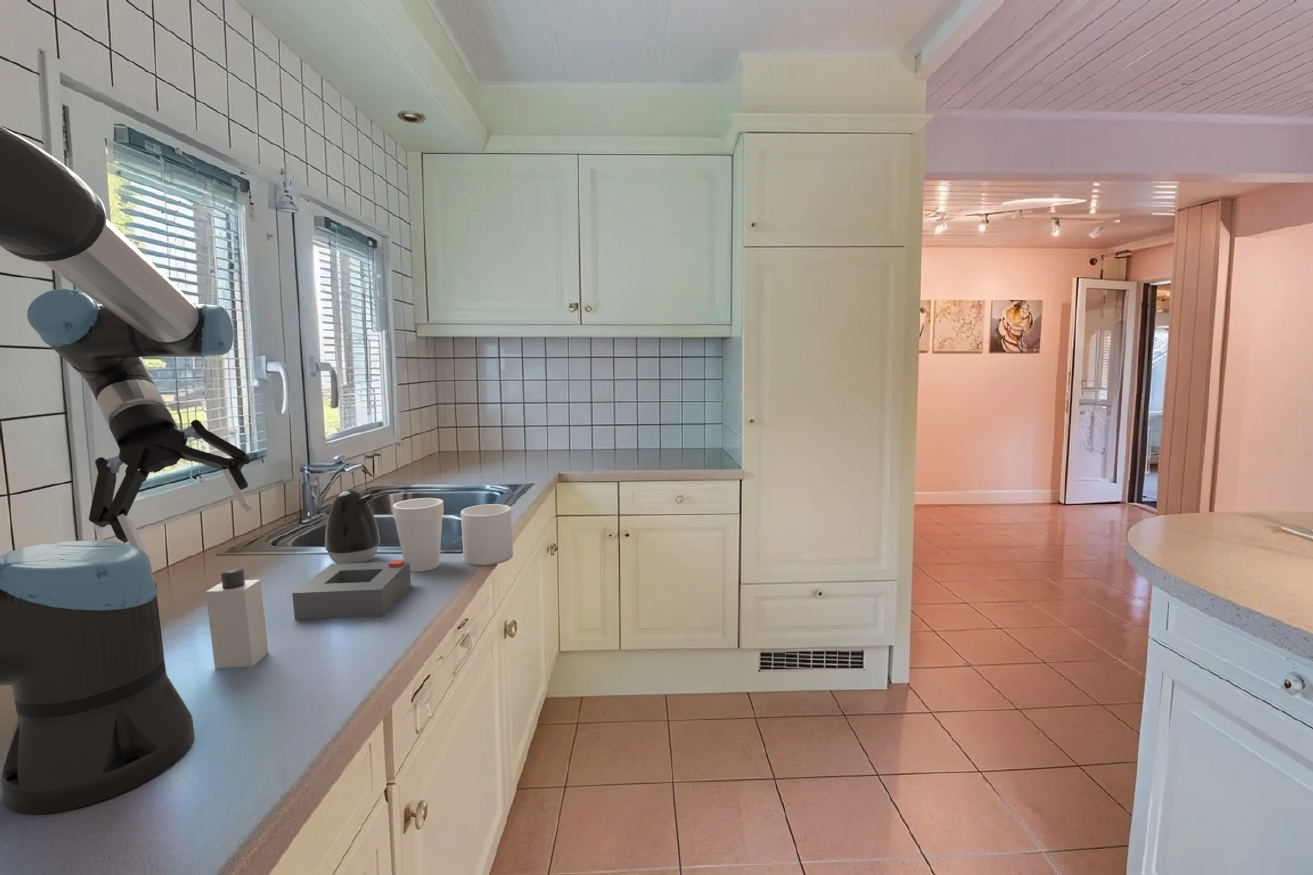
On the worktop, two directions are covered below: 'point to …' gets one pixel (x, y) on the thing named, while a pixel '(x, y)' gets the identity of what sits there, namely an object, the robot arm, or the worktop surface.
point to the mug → (486, 534)
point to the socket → (352, 590)
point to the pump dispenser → (351, 529)
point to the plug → (237, 621)
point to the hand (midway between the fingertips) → (196, 531)
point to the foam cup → (419, 531)
